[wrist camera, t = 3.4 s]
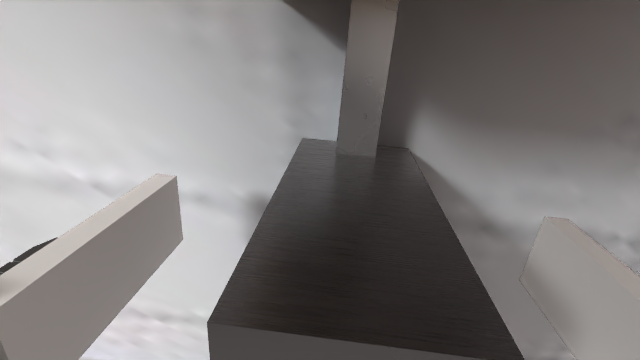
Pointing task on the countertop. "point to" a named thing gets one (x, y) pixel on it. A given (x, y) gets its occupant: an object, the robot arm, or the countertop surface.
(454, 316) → the tool
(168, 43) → the countertop surface
